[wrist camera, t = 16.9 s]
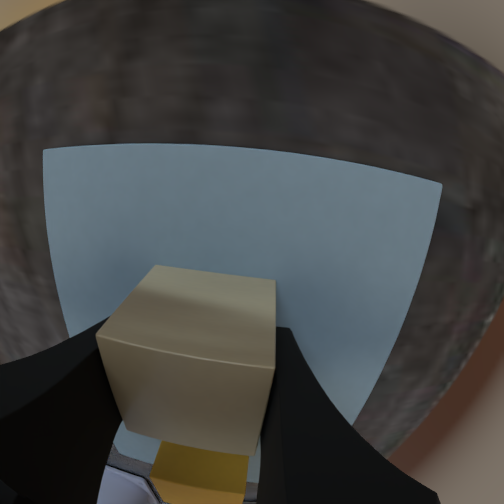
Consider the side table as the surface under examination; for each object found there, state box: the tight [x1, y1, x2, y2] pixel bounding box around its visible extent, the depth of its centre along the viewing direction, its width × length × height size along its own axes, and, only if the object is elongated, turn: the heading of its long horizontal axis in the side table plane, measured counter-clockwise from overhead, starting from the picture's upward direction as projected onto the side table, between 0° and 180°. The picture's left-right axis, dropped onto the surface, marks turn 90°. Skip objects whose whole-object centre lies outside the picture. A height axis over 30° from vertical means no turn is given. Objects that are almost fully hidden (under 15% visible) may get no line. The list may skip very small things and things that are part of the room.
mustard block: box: [150, 440, 249, 504], centre depth 11 cm, size 4×4×4 cm
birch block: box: [96, 265, 276, 456], centre depth 8 cm, size 4×4×4 cm
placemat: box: [43, 143, 442, 483], centre depth 12 cm, size 20×14×1 cm
